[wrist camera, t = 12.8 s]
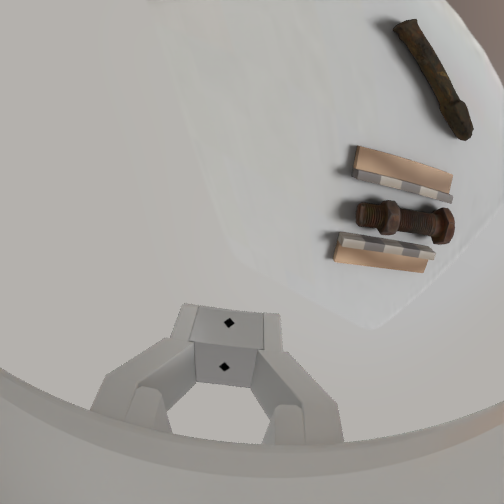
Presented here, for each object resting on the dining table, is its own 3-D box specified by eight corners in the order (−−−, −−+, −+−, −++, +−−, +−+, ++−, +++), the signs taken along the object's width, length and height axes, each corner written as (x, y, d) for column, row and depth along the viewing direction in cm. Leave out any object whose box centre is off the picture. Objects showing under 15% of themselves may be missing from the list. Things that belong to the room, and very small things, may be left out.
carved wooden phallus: (387, 29, 24) (400, 19, 20) (406, 23, 23) (421, 14, 19) (445, 145, 31) (463, 149, 27) (462, 135, 30) (480, 139, 26)
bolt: (351, 200, 38) (435, 214, 37) (350, 235, 37) (435, 245, 36) (365, 189, 32) (455, 206, 31) (365, 229, 31) (456, 241, 31)
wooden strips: (357, 145, 32) (363, 147, 30) (448, 173, 32) (457, 176, 30) (332, 258, 39) (336, 266, 37) (420, 269, 39) (426, 277, 37)
